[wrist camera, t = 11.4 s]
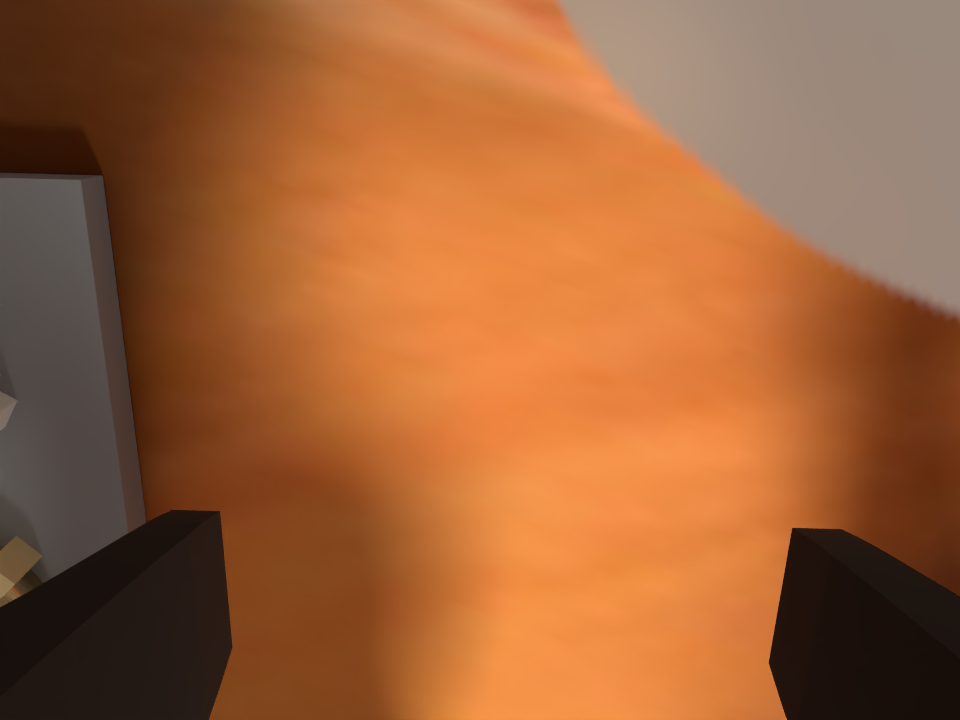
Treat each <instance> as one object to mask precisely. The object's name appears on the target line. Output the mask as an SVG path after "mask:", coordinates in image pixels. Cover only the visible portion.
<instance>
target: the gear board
mask: <svg viewBox="0 0 960 720" xmlns="http://www.w3.org/2000/svg"><path fill="white" fill-rule="evenodd" d="M0 304H1V305H0V391H1V392H3V393H4V394H6V395H8V396H10V397H12V398H14V399H16V400H17V402H16V405H15V407H14V409H13V411H12V413H11V416H10V418H9V420H8V422H7V425H6V427H5V428H3V429H2V430H0V607H1V606H3V605H5V604H7V603H9V602H11V601H13V600H14V599H16V598H18V597H20V596H22V595H24V594H25V593H27V592H29V591H31V590H33V589H34V588H36V587H38V586H39V585H41V584H43V583H45V582H46V581H48V580H50V579H51V578H53V577H55V576H56V575H58V574H60V573H62V572H63V571H65V570H67V569H68V568H70V567H72V566H73V565H75V564H77V563H79V562H80V561H82V560H84V559H85V558H87V557H89V556H90V555H92V554H94V553H96V552H97V551H99V550H101V549H102V548H104V547H106V546H107V545H109V544H111V543H112V542H114V541H116V540H117V539H119V538H121V537H122V536H124V535H126V534H128V533H129V532H131V531H133V530H135V529H136V528H138V527H140V526H142V525H143V524H145V523H147V522H146V514H145V506H144V498H143V490H142V483H141V475H140V467H139V459H138V451H137V443H136V435H135V427H134V419H133V411H132V403H131V395H130V387H129V379H128V371H127V364H126V356H125V348H124V340H123V332H122V324H121V316H120V308H119V300H118V292H117V284H116V276H115V268H114V260H113V252H112V244H111V237H110V229H109V221H108V213H107V205H106V197H105V189H104V181H103V176H102V175H66V174H29V173H0Z"/></svg>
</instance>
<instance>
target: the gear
mask: <svg viewBox="0 0 960 720" xmlns="http://www.w3.org/2000/svg"><path fill="white" fill-rule="evenodd" d="M0 305H1V304H0ZM16 402H17V400H16V399H14V398H12V397H10V396H8V395H6V394H4V393H3V392H1V391H0V430H2V429H3V428H5V427H6V425H7V422H8V420H9V418H10V416H11V413H12V411H13V409H14V407H15V405H16Z"/></svg>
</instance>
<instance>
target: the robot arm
mask: <svg viewBox="0 0 960 720" xmlns="http://www.w3.org/2000/svg"><path fill="white" fill-rule="evenodd" d="M231 650H232V638H231V627H230V616H229V605H228V594H227V583H226V572H225V561H224V550H223V539H222V528H221V517H220V511H189V510H171V511H169V512H167V513H164V514H162V515H160V516H158V517H156V518H154V519H152V520H151V521H149V522H147V523H145V524H143V525H142V526H140V527H138V528H136V529H135V530H133V531H131V532H129V533H128V534H126V535H124V536H122V537H121V538H119V539H117V540H116V541H114V542H112V543H111V544H109V545H107V546H106V547H104V548H102V549H101V550H99V551H97V552H96V553H94V554H92V555H90V556H89V557H87V558H85V559H84V560H82V561H80V562H79V563H77V564H75V565H73V566H72V567H70V568H68V569H67V570H65V571H63V572H62V573H60V574H58V575H56V576H55V577H53V578H51V579H50V580H48V581H46V582H45V583H43V584H41V585H39V586H38V587H36V588H34V589H33V590H31V591H29V592H27V593H25V594H24V595H22V596H20V597H18V598H16V599H14V600H13V601H11V602H9V603H7V604H5V605H3V606H1V607H0V720H209V717H210V714H211V711H212V708H213V705H214V702H215V699H216V696H217V694H218V691H219V688H220V685H221V681H222V678H223V675H224V672H225V669H226V666H227V662H228V659H229V656H230V653H231ZM769 665H770V668H771V671H772V675H773V678H774V681H775V684H776V687H777V691H778V694H779V697H780V700H781V703H782V706H783V709H784V712H785V715H786V718H787V720H960V597H959V596H958V595H956V594H954V593H953V592H951V591H949V590H948V589H946V588H944V587H943V586H941V585H939V584H938V583H936V582H934V581H933V580H931V579H929V578H928V577H926V576H924V575H923V574H921V573H919V572H918V571H916V570H914V569H913V568H911V567H909V566H908V565H906V564H904V563H903V562H901V561H899V560H898V559H896V558H894V557H892V556H891V555H889V554H887V553H886V552H884V551H882V550H880V549H879V548H877V547H875V546H873V545H871V544H870V543H868V542H866V541H864V540H862V539H860V538H858V537H856V536H854V535H852V534H850V533H848V532H846V531H844V530H841V529H810V528H792V533H791V539H790V545H789V550H788V556H787V562H786V567H785V573H784V579H783V585H782V590H781V596H780V602H779V607H778V613H777V619H776V624H775V630H774V636H773V642H772V647H771V653H770V659H769Z"/></svg>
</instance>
